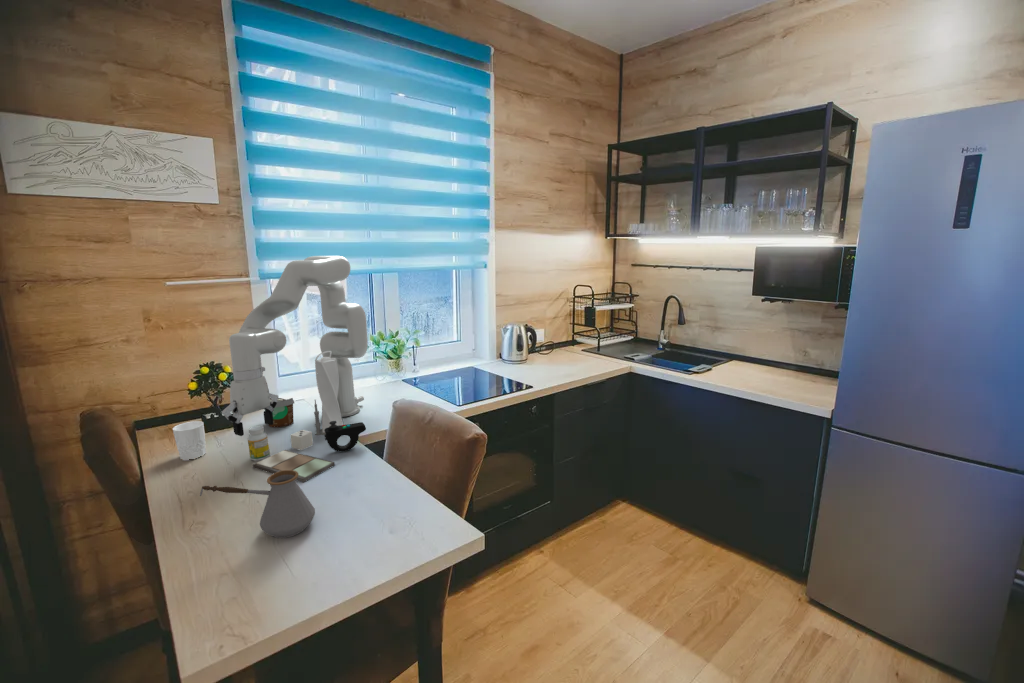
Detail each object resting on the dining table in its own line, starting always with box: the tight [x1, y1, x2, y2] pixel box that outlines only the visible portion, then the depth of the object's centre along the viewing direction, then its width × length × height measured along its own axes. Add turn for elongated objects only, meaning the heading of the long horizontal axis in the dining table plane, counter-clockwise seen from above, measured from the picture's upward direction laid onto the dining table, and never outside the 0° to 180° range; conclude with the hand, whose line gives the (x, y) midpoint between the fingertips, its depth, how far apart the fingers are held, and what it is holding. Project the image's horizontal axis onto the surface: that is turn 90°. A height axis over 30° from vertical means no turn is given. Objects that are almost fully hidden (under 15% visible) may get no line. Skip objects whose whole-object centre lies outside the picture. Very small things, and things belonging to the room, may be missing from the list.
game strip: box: [252, 449, 336, 483], centre depth 138 cm, size 11×21×1 cm, turn 64°
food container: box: [267, 397, 295, 429], centre depth 169 cm, size 12×6×10 cm, turn 73°
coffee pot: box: [199, 470, 316, 539], centre depth 104 cm, size 21×12×15 cm, turn 121°
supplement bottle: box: [247, 425, 271, 462], centre depth 144 cm, size 5×5×10 cm
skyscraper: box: [313, 351, 344, 436], centre depth 162 cm, size 8×8×28 cm
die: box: [289, 429, 314, 451], centre depth 152 cm, size 4×4×5 cm
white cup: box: [172, 420, 207, 461], centre depth 146 cm, size 8×8×10 cm
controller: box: [323, 421, 367, 453], centre depth 148 cm, size 4×12×10 cm, turn 117°
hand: (254, 429), depth 142 cm, fingers open, 9 cm apart
